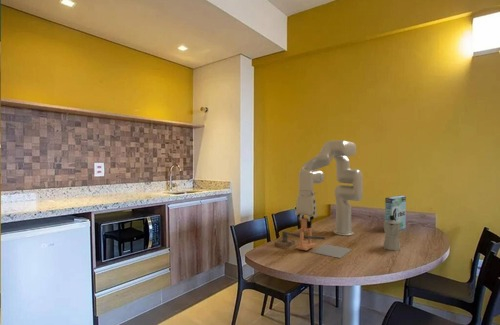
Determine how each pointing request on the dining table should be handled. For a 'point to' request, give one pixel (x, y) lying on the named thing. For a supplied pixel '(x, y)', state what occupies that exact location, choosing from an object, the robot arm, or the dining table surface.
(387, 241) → the coffee maker
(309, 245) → the orange block
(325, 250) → the mat
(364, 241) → the dining table surface
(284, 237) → the stand
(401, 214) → the gum box
